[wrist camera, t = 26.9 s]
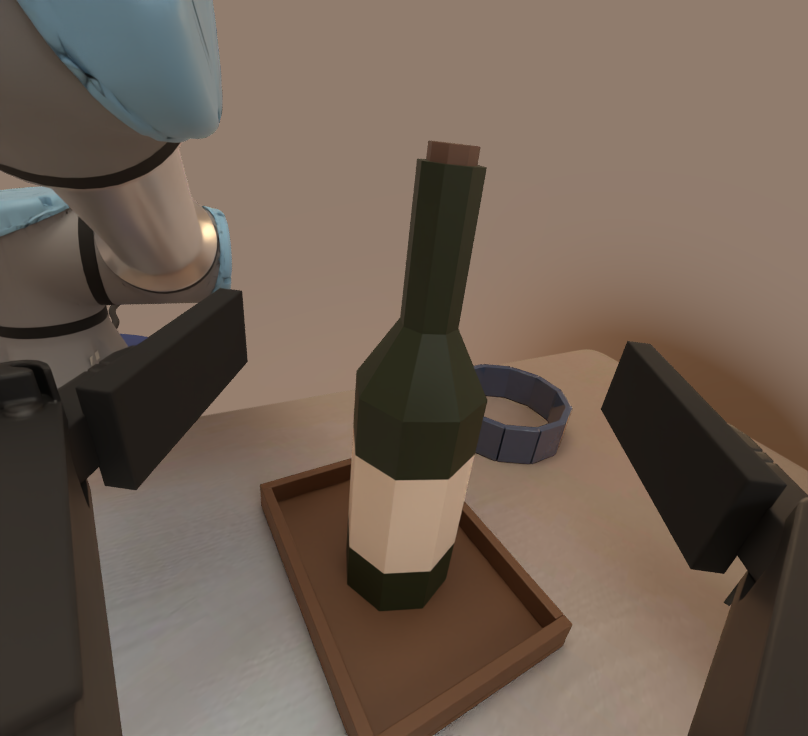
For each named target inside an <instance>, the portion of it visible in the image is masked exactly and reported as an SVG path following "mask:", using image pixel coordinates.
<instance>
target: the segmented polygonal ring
mask: <svg viewBox="0 0 808 736" xmlns="http://www.w3.org/2000/svg"><path fill="white" fill-rule="evenodd" d="M474 369H475V371H476V374H477V376H478V379H479V381H480V384H481V386H482V388H483V391H484V393H485V396H496V397H505V398H508V399H510V400H513V401H516V402H519V403H522V404H524V405H527V406H529V407H530V408H532V409H533V410H534V411H536V412H537V413H538V414H540V415H541V416H542V417H544V418H545V419H547V420H548V422H549V424H546V425H543V426H540V427H526V426H514V425H505V424H502V423H499V422H497V421H494V420H492V419H489V418H487V417H483V421H482V426H481V430H480V434H479V439H478V443H477V447H476V452H475V453H478V454H480V455H482V456H485V457H487V458H489V459H492V460H494V461H496V459H497V461H498V462H511V463H523V464H530V463H531V464H533V463H535V462H538V461H541V460H543V459H546V458H549V457H551V456H554V455H555V454H556V452H557V450H558V447H559V445H560V443H561V440H562V438H563V435H564V432H565V429H566V426H567V423H568V420H569V417H570V415H571V412H572V406H571V405H570V403H569V401H568V400H567V398H566V396H565V395H564V393H563V392H562V391H561V390H560V389H559V388H557V387H556V386H554V385H553V384H551V383H550V382H548V381H546V380H545V379H543V378H542V377H540V376H539V377H538V375H535V374H532V373H529V372H526V371H523V370H520V369H517V368H514V367H510V366H499V365H488V364H483V365H482V364H480V365H476V366H474Z"/></svg>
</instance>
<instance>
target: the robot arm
mask: <svg viewBox="0 0 808 736" xmlns="http://www.w3.org/2000/svg"><path fill="white" fill-rule="evenodd" d="M221 114H222V86H221V67H220V57H219V49H218V40H217V30H216V22H215V15H214V8H213V1H212V0H0V171H2V172H4V173H6V174H8V175H11V176H13V177H16V178H18V179H20V180H23V181H25V182H28V183H32V184H35V185H39V186H43V187H28V188H16V189H7V190H0V736H122V729H121V721H120V713H119V705H118V698H117V690H116V682H115V675H114V667H113V659H112V651H111V644H110V636H109V628H108V621H107V613H106V605H105V597H104V590H103V582H102V574H101V567H100V559H99V551H98V544H97V536H96V528H95V520H94V513H93V505H92V497H91V490H90V486H89V483H88V480H87V478H88V477H89V476H90V475H91V474H92V473H93V472H94V471H95V470H96V469H97V468H98V467H99V468H100V471H101V475H102V478H103V481H104V484H105V486H110V487H118V488H125V489H132V490H137V489H138V488H139V486H140V485H141V484H142V483H143V482H144V481H145V479H146V478H147V477H148V476H149V475H150V474H151V473H152V471H153V470H154V469H155V468H156V467H157V466H158V464H159V463H160V462H161V461H162V460H163V459H164V458H165V456H166V455H167V454H168V453H169V452H170V451H171V449H172V448H173V447H174V446H175V445H176V444H177V443H178V441H179V440H180V439H181V438H182V437H183V436H184V434H185V433H186V432H187V431H188V430H189V429H190V428H191V426H192V425H193V424H194V423H195V422H196V421H197V419H198V418H199V417H200V416H201V415H202V413H203V412H204V411H205V410H206V409H207V408H208V407H209V406H210V404H211V403H212V402H213V401H214V400H215V399H216V397H217V396H218V395H219V394H220V393H221V392H222V391H223V389H224V388H225V387H226V386H227V385H228V384H229V382H230V381H231V380H232V379H233V378H234V377H235V376H236V374H237V373H238V372H239V371H240V370H241V369H242V368H243V366H244V365H245V364H246V363H247V348H246V336H245V324H244V310H243V298H242V291H239V290H231V289H230V288H231V272H232V259H231V258H232V257H231V244H230V235H229V229H228V224H227V221H226V219H225V215H224V214H223V213H222V212H221V211H220V210H218V209H213V208H210V207H205V206H201V205H200V204H199V203H198V202H196V201H195V200H194V199H193V198H192V196H191V193H190V189H189V185H188V181H187V177H186V173H185V170H184V166H183V162H182V158H181V155H180V150H179V147H180V146H181V144H182V142H184V141H186V140H188V139H190V138H195V139H200V138H206V137H208V136H210V135H211V134H213V133H214V132H215V131H216V129H217V128H218V126H219V123H220V118H221ZM164 303H198V304H196V305H195V306H193V307H192V308H190V309H189V310H187V311H186V312H184V313H183V314H181V315H180V316H179V317H177V318H176V319H174V320H173V321H171V322H170V323H169V324H167V325H165V326H164V327H163V328H161V329H160V330H158V331H157V332H155V333H154V334H152V335H151V336H149V337H148V338H147V339H145V340H144V341H142V342H141V343H139V344H138V345H136V346H134V345H132V346H129V347H128V345H127V344H126V342H125V341H124V340H123V338H122V337H121V335H120V334H119V332H118V331H117V328H118V326H119V319H118V317H117V315H116V309H117V308H118V307H119V306H120V305H122V304H164ZM106 305H111V306H110V308H109V315H110V317H111V319H112V322H111V321H110V318H109V315H108V311H107V307H106ZM601 410H602V412H603V414H604V416H605V417H606V419H607V421H608V423H609V424H610V426H611V428H612V430H613V432H614V433H615V435H616V437H617V439H618V440H619V442H620V444H621V446H622V448H623V449H624V451H625V453H626V455H627V457H628V458H629V460H630V462H631V464H632V465H633V467H634V469H635V471H636V473H637V474H638V476H639V478H640V480H641V481H642V483H643V485H644V487H645V489H646V490H647V492H648V494H649V496H650V497H651V499H652V501H653V503H654V505H655V506H656V508H657V510H658V512H659V513H660V515H661V517H662V519H663V521H664V522H665V524H666V526H667V528H668V529H669V531H670V533H671V535H672V537H673V538H674V540H675V542H676V544H677V545H678V547H679V549H680V551H681V553H682V554H683V556H684V558H685V560H686V562H687V563H688V565H689V567H690V569H694V570H701V571H708V572H715V573H722V574H724V573H725V572H726V570H727V569H728V568H729V566H730V565H731V563H732V562H733V561H734V559H735V558H736V556H738V557H739V559H740V560H741V561H742V563H743V564H744V566H745V567H746V569H747V570H748V571H747V572H746V573H745V575H744V576H743V577H742V579H741V580H740V581H739V583H738V584H737V585H736V587H735V588H734V589H733V591H732V592H731V593H730V595H729V596H728V597H727V599H726V600H725V601H724V603H725V604H727V605H728V606H730V605H731V604H732V605H731V608H730V611H729V614H728V617H727V620H726V623H725V626H724V629H723V632H722V635H721V638H720V641H719V644H718V646H717V649H716V652H715V655H714V658H713V661H712V664H711V667H710V670H709V673H708V676H707V679H706V682H705V685H704V688H703V691H702V694H701V697H700V700H699V703H698V706H697V709H696V712H695V715H694V718H693V721H692V724H691V727H690V730H689V733H688V736H808V495H807V494H806V493H805V492H804V491H803V490H802V489H801V488H800V487H799V486H798V485H797V484H796V483H795V482H794V481H793V480H792V479H791V478H790V477H789V476H788V475H787V474H786V473H785V472H784V471H783V470H782V469H781V468H780V467H779V466H778V465H777V464H774V463H773V460H772V459H771V458H770V457H769V456H768V455H767V454H766V453H764V452H762V449H761V448H760V447H759V446H758V445H757V444H756V443H755V442H754V441H753V440H752V439H751V438H750V437H749V436H747V435H746V434H744V433H743V432H741V431H740V430H738V429H737V428H735V427H734V426H732V425H731V424H727V423H726V422H725V420H724V419H723V418H722V417H721V416H720V415H719V414H718V413H717V412H716V411H715V410H714V409H713V408H712V407H711V406H710V405H709V404H708V403H707V402H706V401H705V400H704V399H703V398H702V397H701V396H700V395H699V394H698V393H697V392H696V391H695V390H694V389H693V387H691V385H690V384H689V383H687V381H686V380H685V379H684V378H683V377H682V376H681V375H680V374H679V373H678V372H677V371H676V370H675V369H674V368H673V367H672V366H671V365H670V364H669V363H668V362H667V361H666V360H665V359H664V358H663V357H662V356H661V354H660V353H658V351H656V349H655V348H654V347H653V346H652V345H651V344H646V343H638V342H630V341H627V344H626V346H625V349H624V351H623V354H622V357H621V359H620V362H619V364H618V367H617V369H616V372H615V374H614V377H613V379H612V382H611V385H610V387H609V390H608V392H607V395H606V397H605V400H604V402H603V405H602V408H601Z"/></svg>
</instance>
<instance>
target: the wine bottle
mask: <svg viewBox="0 0 808 736" xmlns="http://www.w3.org/2000/svg"><path fill="white" fill-rule="evenodd" d="M479 152H480V147H478V146H471V145H463V144H455V143H446V142H437V141H428V149H427V158H426V159H417V166H416V175H415V185H414V194H413V203H412V213H411V222H410V232H409V241H408V251H407V260H406V270H405V279H404V288H403V298H402V307H401V317H400V318H399V320H398V321H397V322H396V323H395V325H394V326H393V327H392V328H391V329H390V331H389V332H388V333H387V334H386V336H385V337H384V338H383V339H382V341H381V342H380V343H379V344H378V346H377V347H376V348H375V349H374V350H373V352H372V353H371V354H370V355H369V357H368V358H367V359H366V360H365V361H364V363H363V364H362V365H361V366H360V368H359V369H358V370H357V374H356V391H355V408H354V425H353V442H352V460H351V477H350V494H349V511H348V528H347V545H346V558H347V585H348V586H350V587H351V588H352V589H353V590H354V591H356V592H357V593H358V594H359V595H360V596H361V597H363V598H364V599H365V600H366V601H367V602H369V603H370V604H371V605H372V606H373V607H375V608H376V609H377V610H378V611H393V610H408V609H423V608H424V606H425V605H426V604H427V603H428V601H429V600H430V599H431V597H432V596H433V595H434V594H435V592H436V591H437V590H438V589H439V587H440V586H441V585H442V583H443V582H444V581H445V580H446V577H447V573H448V569H449V564H450V560H451V556H452V551H453V547H454V543H455V538H456V534H457V530H458V525H459V521H460V517H461V512H462V508H463V504H464V499H465V495H466V491H467V486H468V482H469V478H470V473H471V469H472V465H473V460H474V456H475V452H476V447H477V443H478V439H479V434H480V430H481V426H482V421H483V417H484V413H485V408H486V404H487V398H486V396H485V393H484V391H483V388H482V386H481V384H480V381H479V379H478V376H477V374H476V371H475V369H474V366H473V364H472V361H471V359H470V357H469V354H468V352H467V349H466V347H465V344H464V342H463V339H462V337H461V335H460V332H459V329H458V326H459V321H460V316H461V310H462V304H463V298H464V293H465V287H466V282H467V276H468V270H469V265H470V259H471V253H472V248H473V241H474V236H475V231H476V225H477V219H478V214H479V208H480V202H481V197H482V191H483V185H484V180H485V174H486V167H482V166H479V165H478V159H479Z"/></svg>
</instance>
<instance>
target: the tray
mask: <svg viewBox="0 0 808 736" xmlns="http://www.w3.org/2000/svg"><path fill="white" fill-rule="evenodd" d="M351 460H352V458H351V459H347V460H344V461H340V462H337V463H333V464H330V465H326V466H323V467H319V468H316V469H312V470H309V471H305V472H302V473H298V474H295V475H291V476H288V477H284V478H281V479H277V480H274V481H270V482H267V483H263V484H260V492H261V506H262V508H263V511H264V514H265V516H266V519H267V522H268V524H269V527H270V530H271V532H272V535H273V538H274V541H275V543H276V546H277V549H278V551H279V554H280V557H281V559H282V562H283V565H284V567H285V570H286V573H287V575H288V578H289V581H290V583H291V586H292V589H293V591H294V594H295V597H296V599H297V602H298V605H299V607H300V610H301V613H302V615H303V618H304V621H305V623H306V626H307V629H308V631H309V634H310V637H311V639H312V642H313V645H314V647H315V650H316V653H317V655H318V658H319V661H320V663H321V666H322V669H323V671H324V674H325V677H326V679H327V682H328V685H329V687H330V690H331V693H332V695H333V698H334V701H335V703H336V706H337V709H338V711H339V714H340V717H341V719H342V722H343V725H344V727H345V730H346V733H347V735H348V736H433V735H434V734H436V733H437V732H438V731H440V730H441V729H443V728H444V727H446V726H447V725H449V724H450V723H452V722H453V721H454V720H456V719H457V718H459V717H460V716H462V715H463V714H465V713H466V712H467V711H469V710H470V709H472V708H473V707H475V706H476V705H478V704H479V703H480V702H482V701H483V700H485V699H486V698H488V697H489V696H491V695H492V694H494V693H495V692H496V691H498V690H499V689H501V688H502V687H504V686H505V685H507V684H508V683H509V682H511V681H512V680H514V679H515V678H517V677H518V676H520V675H521V674H522V673H524V672H525V671H527V670H528V669H530V668H531V667H533V666H534V665H536V664H537V663H538V662H540V661H541V660H543V659H544V658H546V657H547V656H549V655H550V654H551V653H553V652H554V651H556V650H557V649H559V648H560V647H562V646H563V644H564V642H565V639H566V637H567V635H568V633H569V631H570V629H571V627H572V623H571V622H570V621H569V620H568V619H567V618H566V616H565V615H563V613H562V612H561V611H560V610H559V608H558V607H557V606H556V605H555V604H554V603H553V602H552V600H551V599H550V598H549V597H548V596H547V595H546V594H545V593H544V591H543V590H542V589H541V588H540V587H539V586H538V585H537V583H536V582H535V581H534V580H533V579H532V578H531V577H530V575H529V574H528V573H527V572H526V571H525V570H524V569H523V567H522V566H521V565H520V564H519V563H518V562H517V561H516V560H515V558H514V557H513V556H512V555H511V554H510V553H509V552H508V550H507V549H506V548H505V547H504V546H503V545H502V544H501V542H500V541H499V540H498V539H497V538H496V537H495V536H494V535H493V533H492V532H491V531H490V530H489V529H488V528H487V527H486V525H485V524H484V523H483V522H482V521H481V520H480V519H479V517H478V516H477V515H476V514H475V513H474V512H473V511H472V509H471V508H470V507H469V506H468V505H467V504H466V503H465V502H464V504H463V508H462V512H461V517H460V521H459V525H458V530H457V534H456V538H455V543H454V547H453V551H452V556H451V560H450V564H449V569H448V573H447V577H446V580H445V581H444V582H443V583H442V585H441V586H440V587H439V589H438V590H437V591H436V592H435V594H434V595H433V596H432V597H431V599H430V600H429V601H428V603H427V604H426V605H425V606H424V608H423V609H408V610H393V611H378V610H377V609H376V608H375V607H373V606H372V605H371V604H370V603H369V602H367V601H366V600H365V599H364V598H363V597H361V596H360V595H359V594H358V593H357V592H356V591H354V590H353V589H352V588H351V587H350V586H348V585H347V558H346V545H347V528H348V511H349V494H350V477H351Z"/></svg>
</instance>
